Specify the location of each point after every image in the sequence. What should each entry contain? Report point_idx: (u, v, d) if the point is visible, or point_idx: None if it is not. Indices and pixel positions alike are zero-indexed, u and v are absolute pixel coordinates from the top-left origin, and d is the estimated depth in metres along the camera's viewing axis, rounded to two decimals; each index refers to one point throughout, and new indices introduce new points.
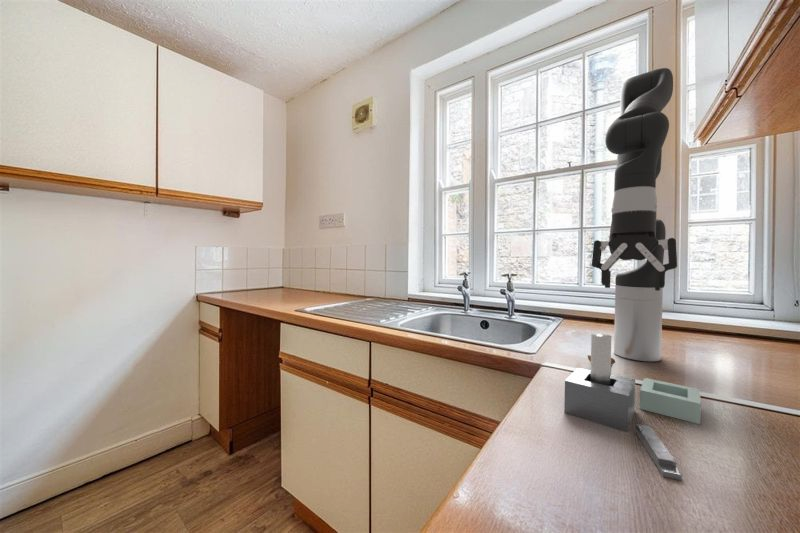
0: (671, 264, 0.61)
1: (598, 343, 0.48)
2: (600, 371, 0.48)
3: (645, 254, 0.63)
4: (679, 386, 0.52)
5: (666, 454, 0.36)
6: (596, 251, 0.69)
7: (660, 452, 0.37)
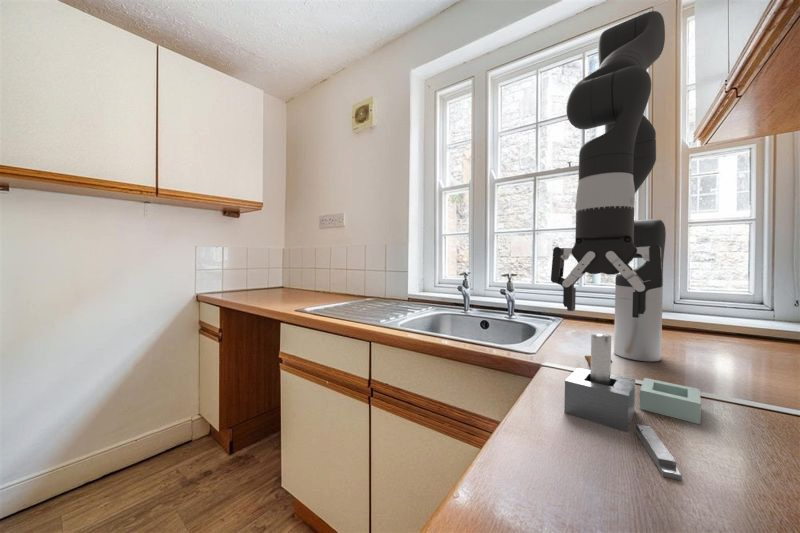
0: (654, 282, 0.43)
1: (598, 343, 0.48)
2: (600, 371, 0.48)
3: (619, 267, 0.46)
4: (679, 386, 0.52)
5: (666, 454, 0.36)
6: (556, 261, 0.52)
7: (660, 452, 0.37)
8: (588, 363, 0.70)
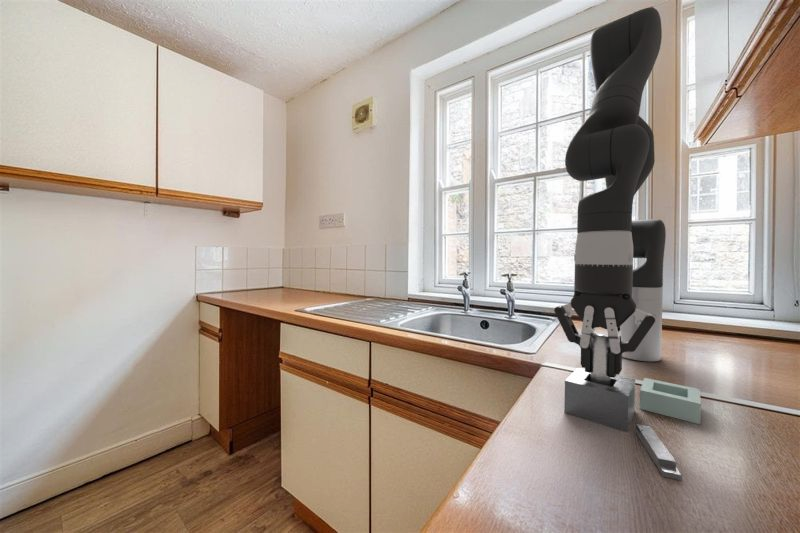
0: (628, 346, 0.45)
1: (598, 343, 0.48)
2: (600, 371, 0.48)
3: (609, 325, 0.47)
4: (679, 386, 0.52)
5: (666, 454, 0.36)
6: (563, 321, 0.51)
7: (660, 452, 0.37)
8: None
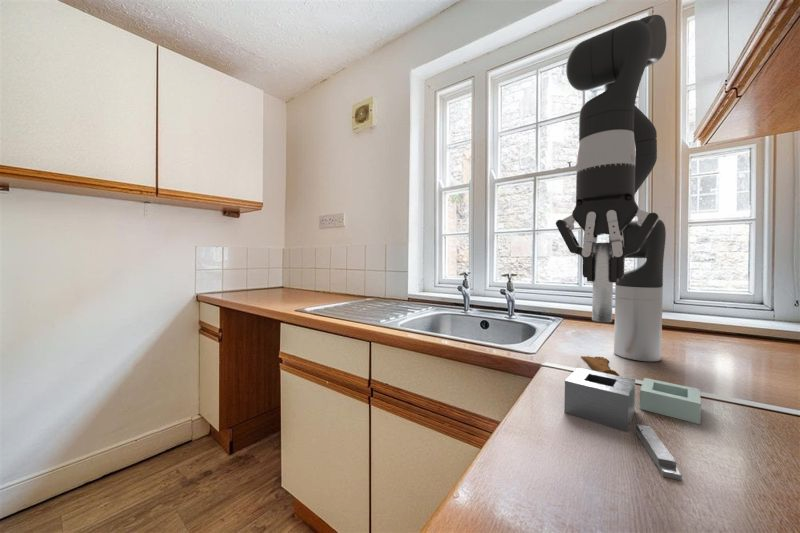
0: (631, 247, 0.45)
1: (600, 249, 0.47)
2: (602, 277, 0.47)
3: (611, 228, 0.46)
4: (679, 386, 0.52)
5: (666, 454, 0.36)
6: (565, 233, 0.51)
7: (660, 452, 0.37)
8: (589, 364, 0.69)
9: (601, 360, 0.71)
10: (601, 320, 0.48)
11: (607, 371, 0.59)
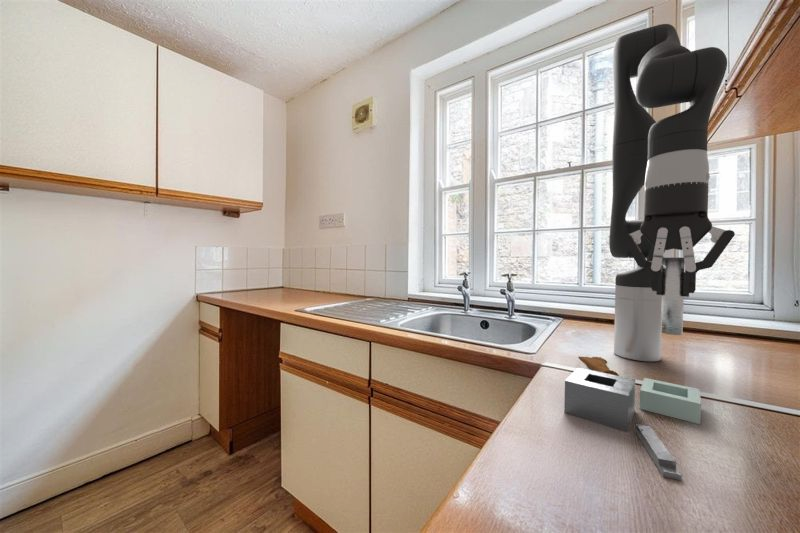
0: (705, 262, 0.46)
1: (671, 263, 0.49)
2: (674, 291, 0.49)
3: (684, 244, 0.48)
4: (679, 386, 0.52)
5: (666, 454, 0.36)
6: (633, 247, 0.52)
7: (660, 452, 0.37)
8: (588, 365, 0.69)
9: (599, 360, 0.71)
10: (672, 333, 0.49)
11: (607, 372, 0.59)
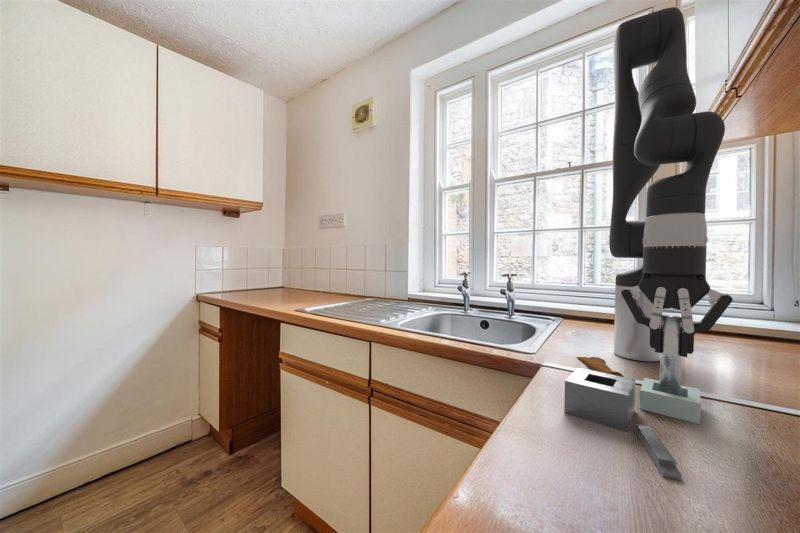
0: (703, 325, 0.47)
1: (670, 323, 0.49)
2: (672, 351, 0.49)
3: (682, 305, 0.48)
4: None
5: (666, 454, 0.36)
6: (631, 303, 0.52)
7: (660, 452, 0.37)
8: (588, 365, 0.69)
9: (598, 360, 0.71)
10: (670, 392, 0.49)
11: (612, 373, 0.58)
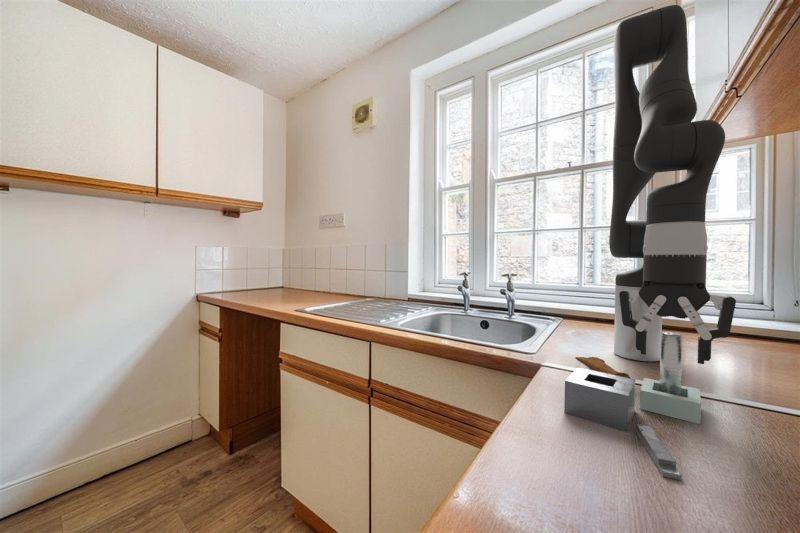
0: (721, 332, 0.45)
1: (670, 341, 0.49)
2: (672, 368, 0.49)
3: (689, 313, 0.47)
4: None
5: (666, 454, 0.36)
6: (625, 305, 0.53)
7: (660, 452, 0.37)
8: (590, 366, 0.68)
9: (598, 361, 0.71)
10: None
11: (619, 374, 0.58)
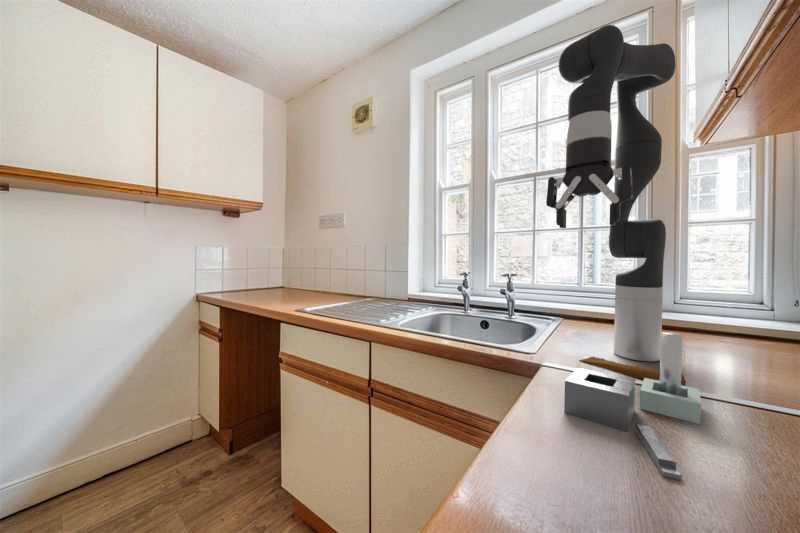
0: (625, 194, 0.56)
1: (669, 341, 0.49)
2: (672, 368, 0.49)
3: (599, 186, 0.58)
4: None
5: (666, 454, 0.36)
6: (550, 189, 0.64)
7: (660, 452, 0.37)
8: (614, 369, 0.67)
9: (607, 361, 0.71)
10: None
11: None
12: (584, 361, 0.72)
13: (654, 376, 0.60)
